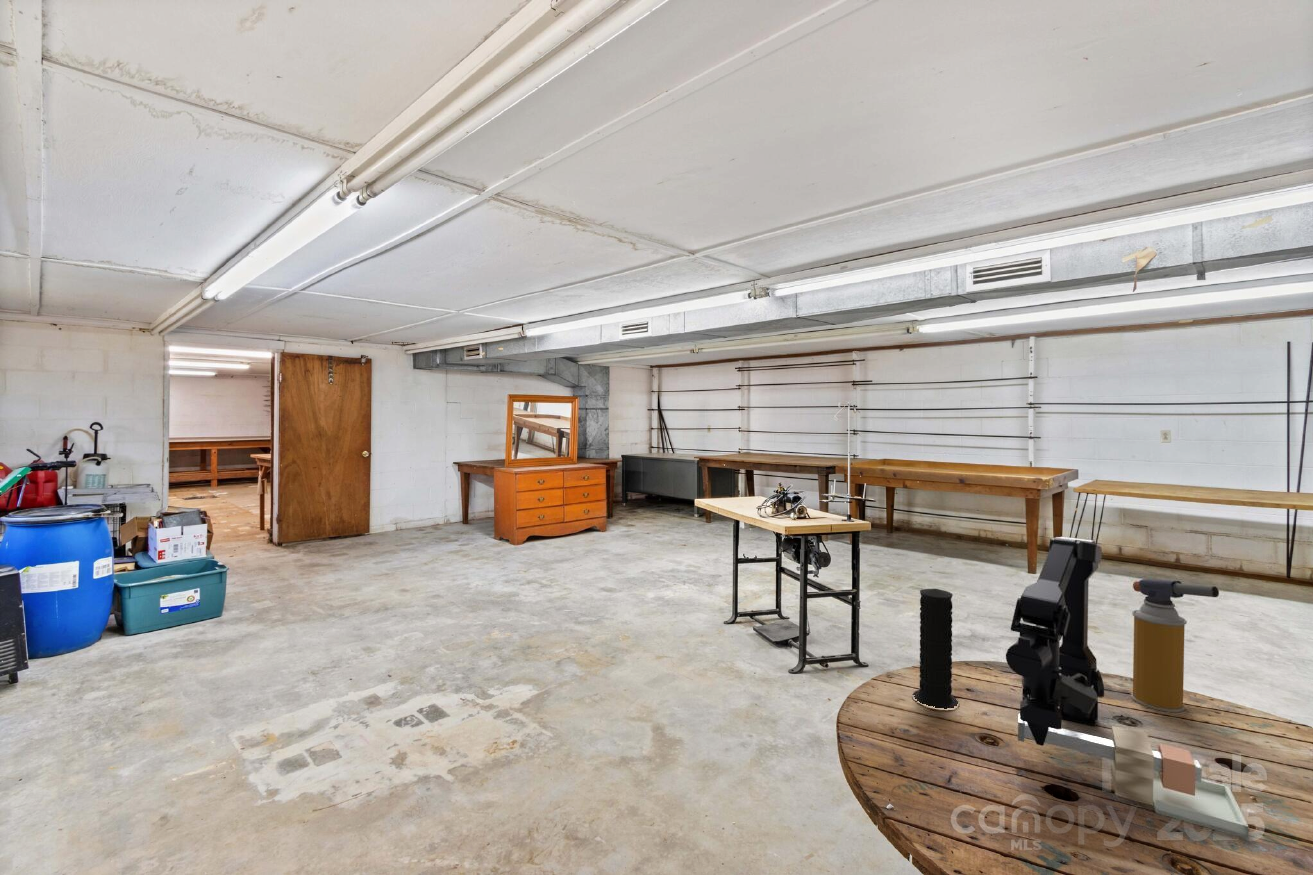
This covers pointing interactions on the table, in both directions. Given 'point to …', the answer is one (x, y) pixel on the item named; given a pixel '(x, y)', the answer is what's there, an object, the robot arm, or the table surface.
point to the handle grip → (935, 649)
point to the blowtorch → (1161, 643)
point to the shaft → (1089, 745)
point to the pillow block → (1132, 765)
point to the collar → (1177, 769)
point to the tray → (1201, 806)
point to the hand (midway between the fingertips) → (1040, 741)
